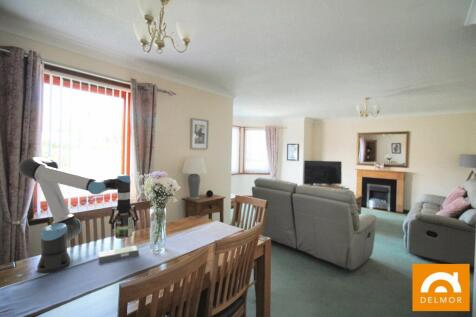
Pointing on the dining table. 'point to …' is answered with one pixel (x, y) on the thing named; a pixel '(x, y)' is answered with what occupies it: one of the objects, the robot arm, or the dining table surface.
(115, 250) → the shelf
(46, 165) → the robot arm
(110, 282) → the dining table surface
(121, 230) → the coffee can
